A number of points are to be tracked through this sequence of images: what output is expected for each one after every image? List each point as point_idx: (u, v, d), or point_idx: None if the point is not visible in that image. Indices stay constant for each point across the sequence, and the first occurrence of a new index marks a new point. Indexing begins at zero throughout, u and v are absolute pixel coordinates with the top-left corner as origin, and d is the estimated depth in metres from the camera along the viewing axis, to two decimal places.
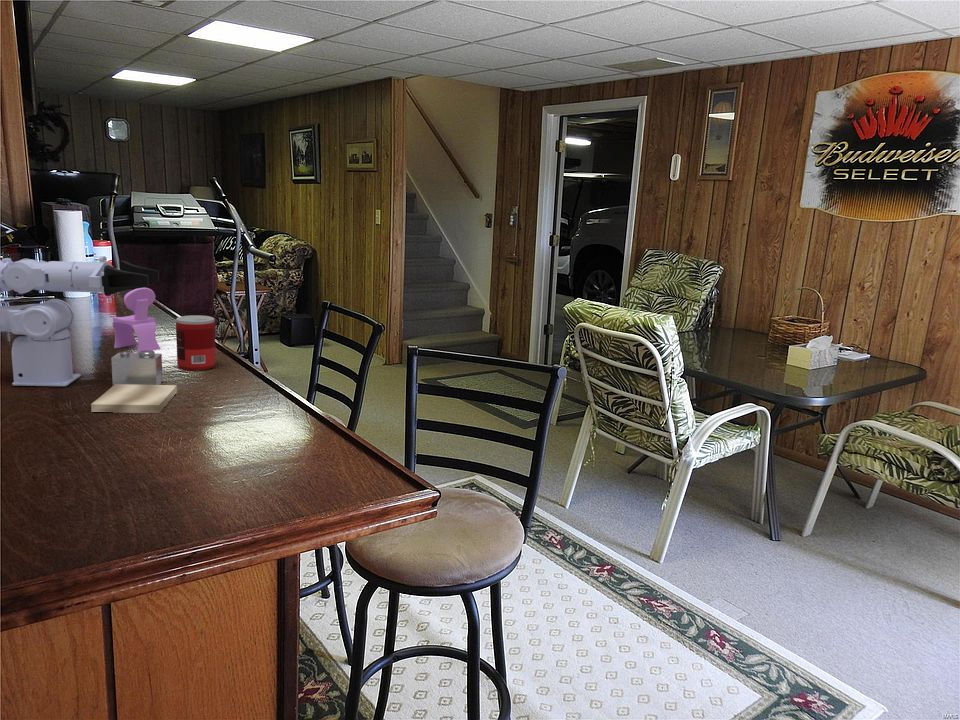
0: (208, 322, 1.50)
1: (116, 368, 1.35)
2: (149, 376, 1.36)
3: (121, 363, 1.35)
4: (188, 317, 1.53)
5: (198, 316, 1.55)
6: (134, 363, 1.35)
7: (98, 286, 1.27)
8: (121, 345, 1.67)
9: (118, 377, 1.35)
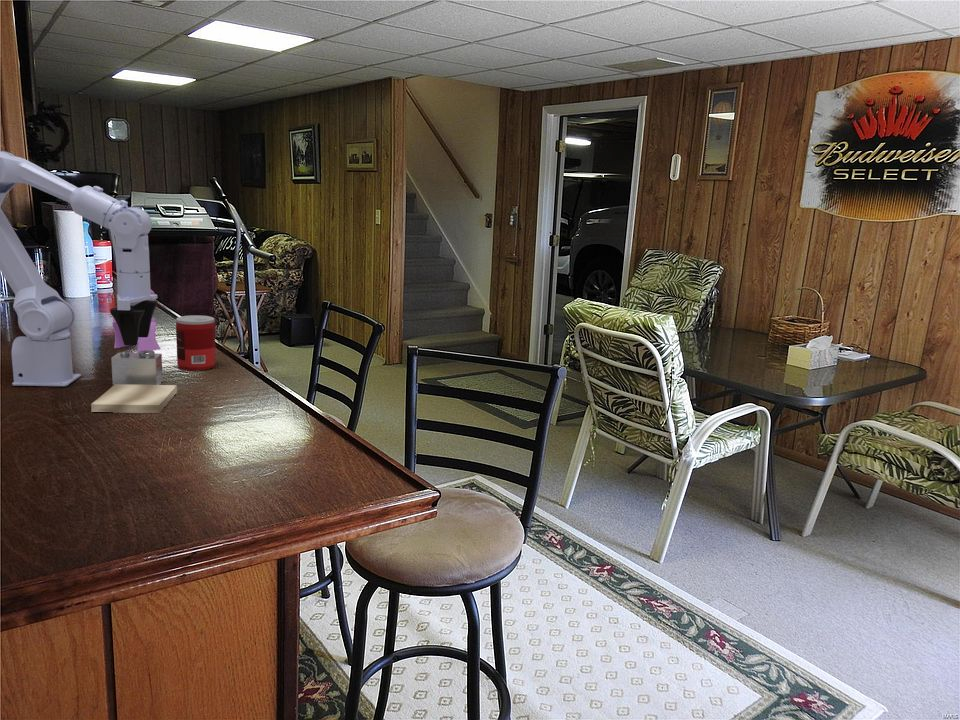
0: (208, 322, 1.50)
1: (116, 368, 1.35)
2: (149, 376, 1.36)
3: (121, 363, 1.35)
4: (188, 317, 1.53)
5: (198, 316, 1.55)
6: (134, 363, 1.35)
7: (118, 308, 1.27)
8: (121, 345, 1.67)
9: (118, 377, 1.35)
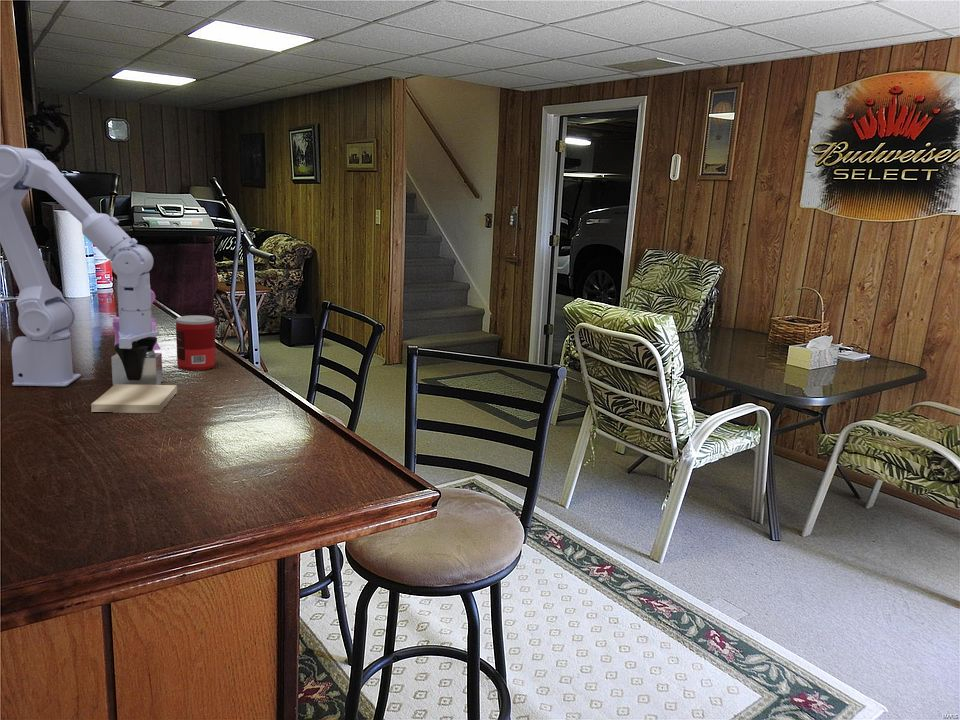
0: (208, 322, 1.50)
1: (116, 368, 1.35)
2: (149, 376, 1.36)
3: (121, 362, 1.35)
4: (188, 317, 1.53)
5: (198, 316, 1.55)
6: None
7: (120, 346, 1.29)
8: None
9: (118, 377, 1.35)
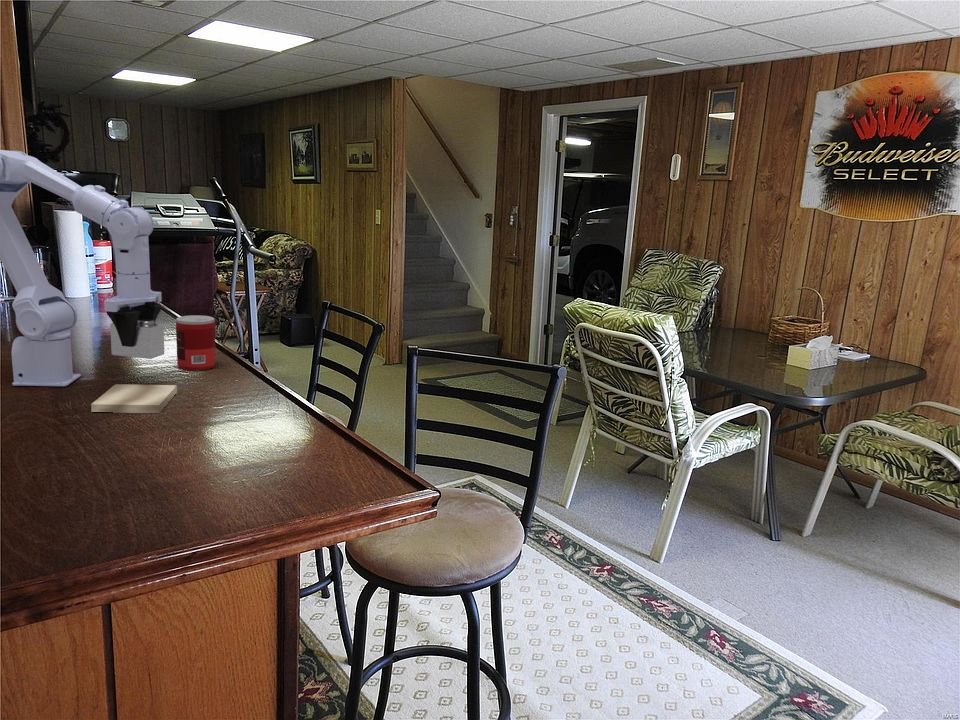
0: (208, 322, 1.50)
1: (114, 335, 1.31)
2: (144, 346, 1.31)
3: None
4: (188, 317, 1.53)
5: (198, 316, 1.55)
6: None
7: (105, 309, 1.25)
8: None
9: (116, 344, 1.32)
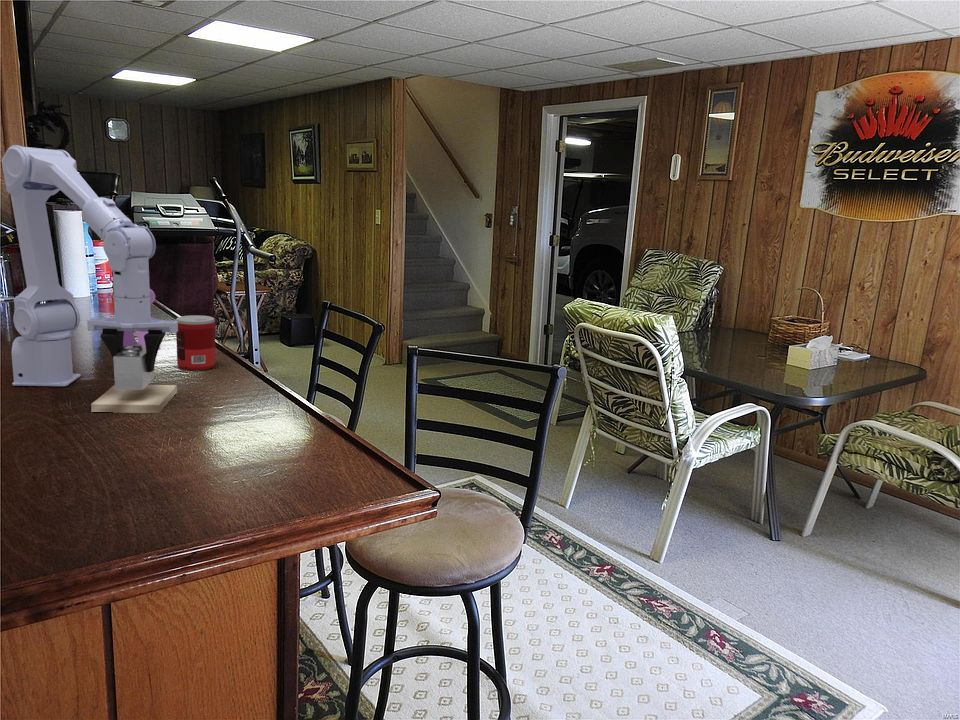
0: (208, 322, 1.50)
1: None
2: None
3: None
4: (188, 317, 1.53)
5: (198, 316, 1.55)
6: None
7: None
8: None
9: None
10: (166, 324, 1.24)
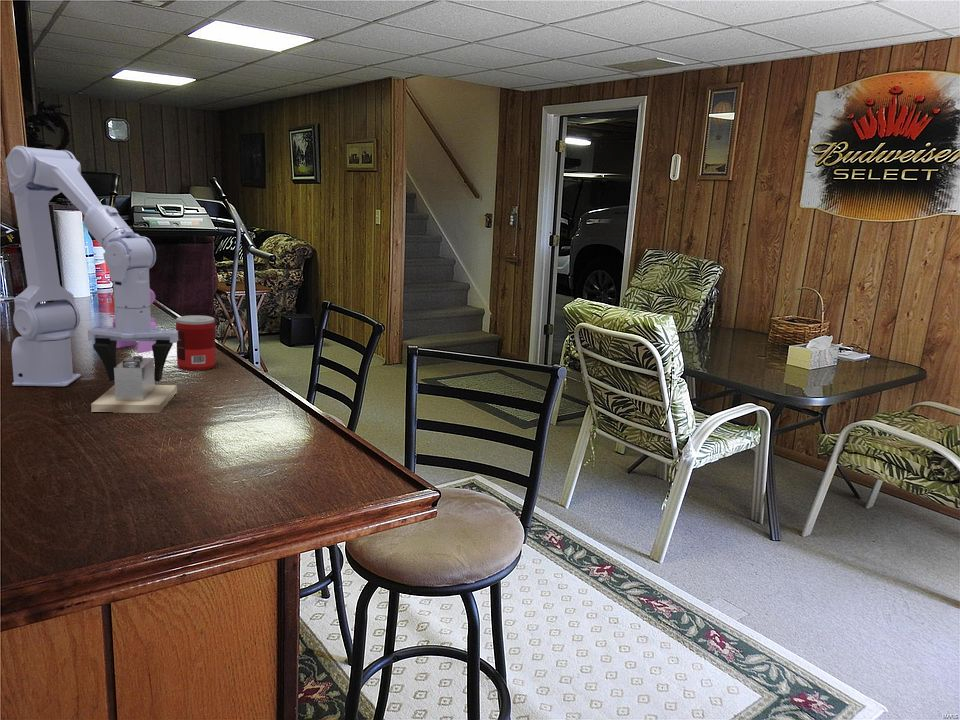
0: (208, 322, 1.50)
1: None
2: None
3: None
4: (188, 317, 1.53)
5: (198, 316, 1.55)
6: None
7: None
8: (121, 345, 1.67)
9: None
10: (166, 334, 1.24)
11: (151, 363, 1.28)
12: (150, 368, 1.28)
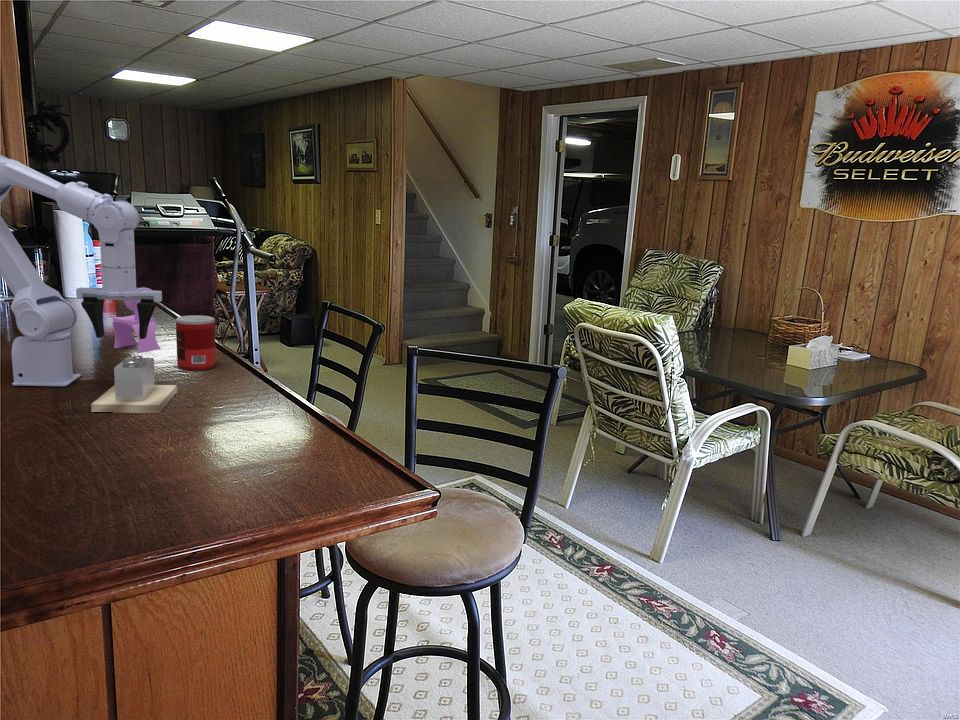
0: (208, 322, 1.50)
1: None
2: None
3: None
4: (188, 317, 1.53)
5: (198, 316, 1.55)
6: None
7: None
8: (121, 345, 1.67)
9: None
10: (150, 293, 1.32)
11: (151, 363, 1.28)
12: (150, 368, 1.28)
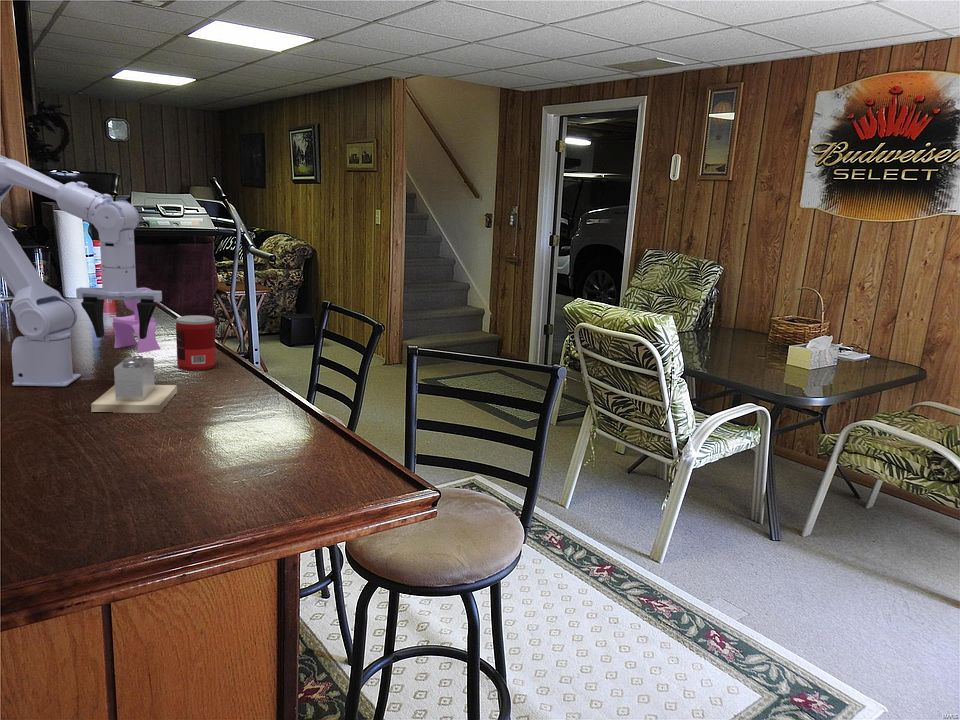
0: (208, 322, 1.50)
1: None
2: None
3: None
4: (188, 317, 1.53)
5: (198, 316, 1.55)
6: None
7: None
8: (121, 345, 1.67)
9: None
10: (150, 293, 1.32)
11: (151, 363, 1.28)
12: (150, 368, 1.28)
